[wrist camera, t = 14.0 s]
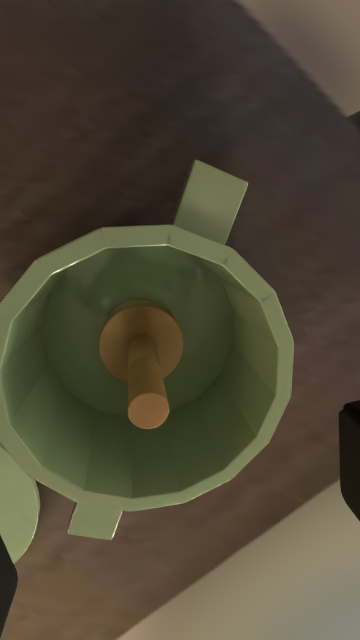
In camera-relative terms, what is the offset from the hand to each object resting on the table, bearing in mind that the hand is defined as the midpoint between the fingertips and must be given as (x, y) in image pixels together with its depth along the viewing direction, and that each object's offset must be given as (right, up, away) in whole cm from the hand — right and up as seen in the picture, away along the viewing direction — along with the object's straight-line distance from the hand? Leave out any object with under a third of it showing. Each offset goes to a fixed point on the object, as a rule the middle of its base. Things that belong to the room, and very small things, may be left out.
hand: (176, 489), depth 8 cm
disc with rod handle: (-2, +3, +13) cm, 13 cm away
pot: (-2, +4, +13) cm, 14 cm away
